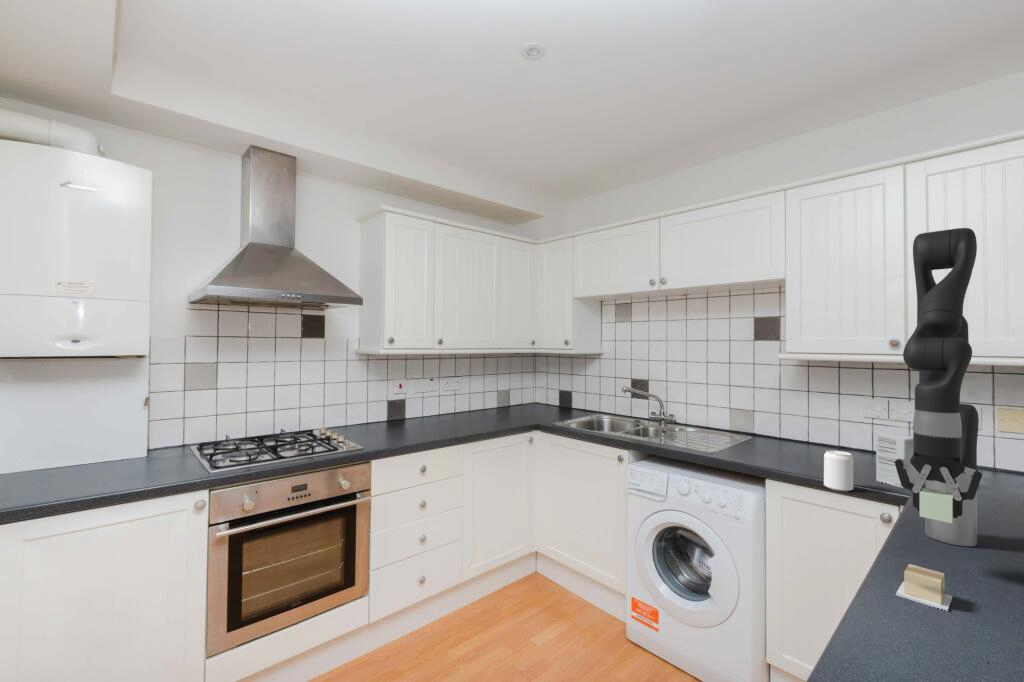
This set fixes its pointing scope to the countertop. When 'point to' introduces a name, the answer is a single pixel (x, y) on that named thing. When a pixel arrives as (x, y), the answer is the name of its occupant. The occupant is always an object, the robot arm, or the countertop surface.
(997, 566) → the countertop surface
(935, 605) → the white tile
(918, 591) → the maple block
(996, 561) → the countertop surface
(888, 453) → the supplement box
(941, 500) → the sage block
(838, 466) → the beverage can
